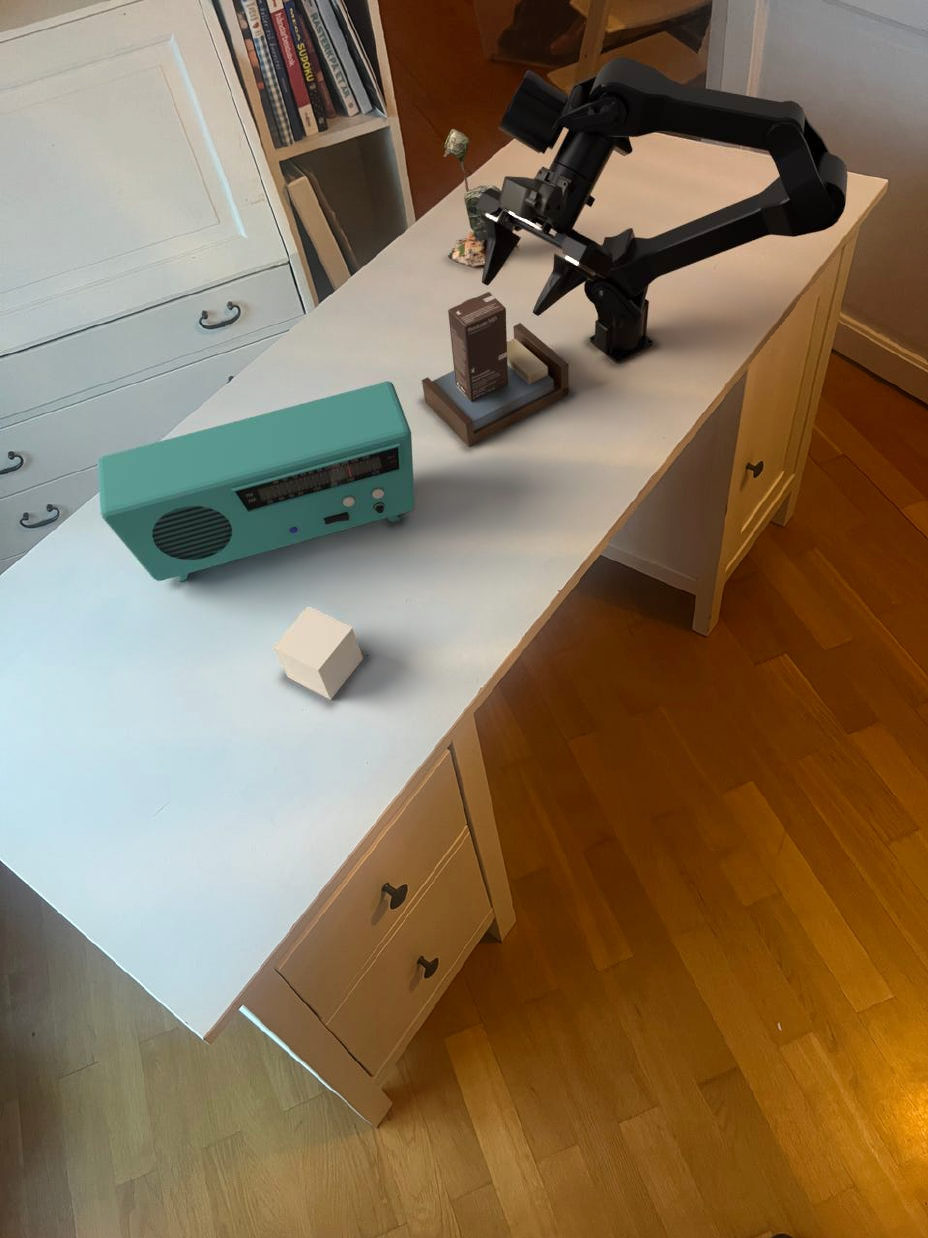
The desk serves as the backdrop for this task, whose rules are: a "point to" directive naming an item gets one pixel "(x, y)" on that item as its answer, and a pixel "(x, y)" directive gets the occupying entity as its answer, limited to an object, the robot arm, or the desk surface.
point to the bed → (467, 424)
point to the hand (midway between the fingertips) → (509, 298)
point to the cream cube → (318, 652)
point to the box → (479, 345)
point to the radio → (260, 482)
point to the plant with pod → (469, 209)
